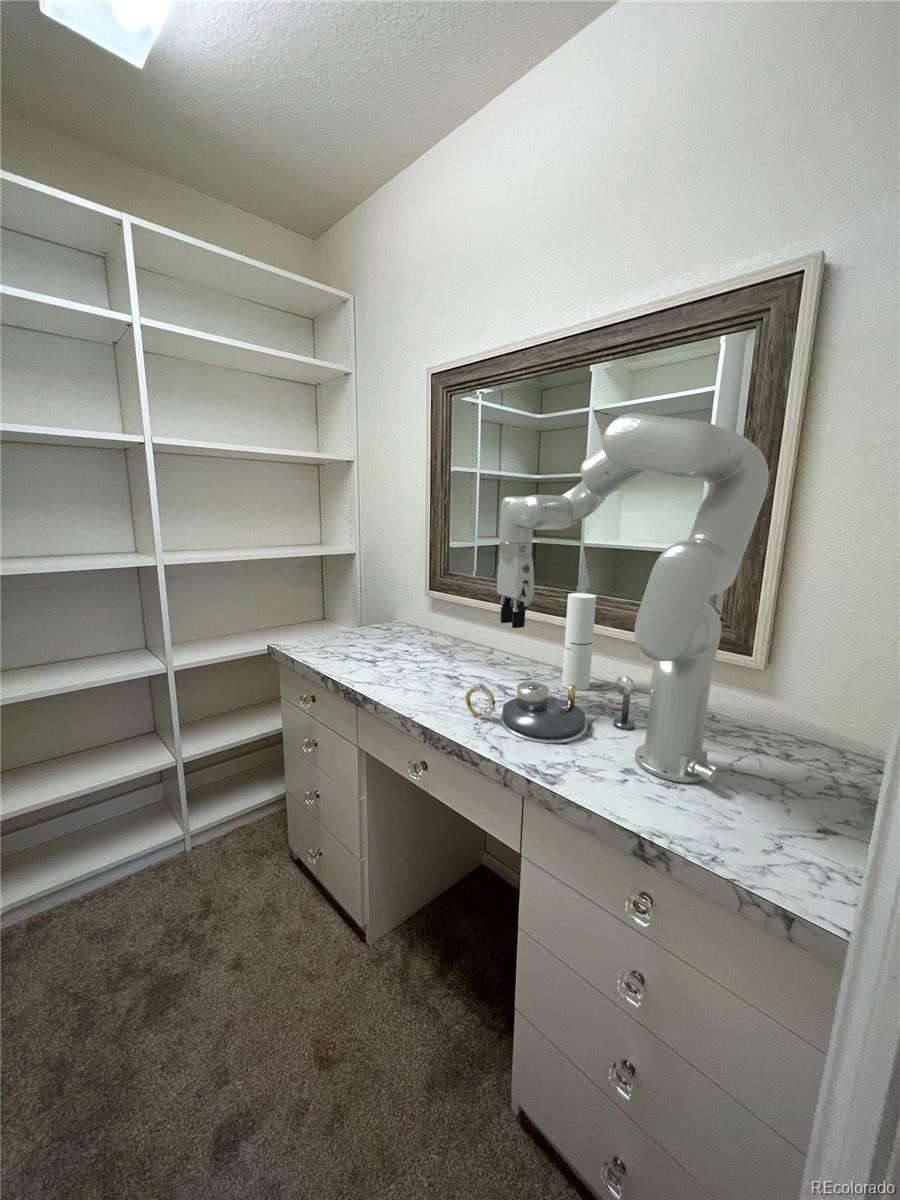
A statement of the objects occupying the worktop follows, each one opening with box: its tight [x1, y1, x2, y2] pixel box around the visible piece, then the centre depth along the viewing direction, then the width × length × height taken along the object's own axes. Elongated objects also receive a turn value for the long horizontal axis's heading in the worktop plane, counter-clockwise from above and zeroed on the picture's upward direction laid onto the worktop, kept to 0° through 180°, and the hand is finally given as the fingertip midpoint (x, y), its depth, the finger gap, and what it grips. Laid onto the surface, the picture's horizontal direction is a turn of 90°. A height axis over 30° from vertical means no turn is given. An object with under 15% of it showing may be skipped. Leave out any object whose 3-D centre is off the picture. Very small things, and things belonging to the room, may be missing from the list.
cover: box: [516, 681, 549, 710], centre depth 108 cm, size 7×7×4 cm
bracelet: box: [465, 683, 496, 719], centre depth 106 cm, size 7×3×8 cm, turn 52°
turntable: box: [502, 685, 586, 739], centre depth 104 cm, size 18×18×7 cm
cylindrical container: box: [561, 592, 597, 691], centre depth 126 cm, size 7×7×25 cm
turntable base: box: [499, 712, 588, 745], centre depth 105 cm, size 19×19×1 cm
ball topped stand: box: [613, 675, 636, 731], centre depth 103 cm, size 4×4×12 cm
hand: (512, 624), depth 114 cm, fingers open, 4 cm apart
